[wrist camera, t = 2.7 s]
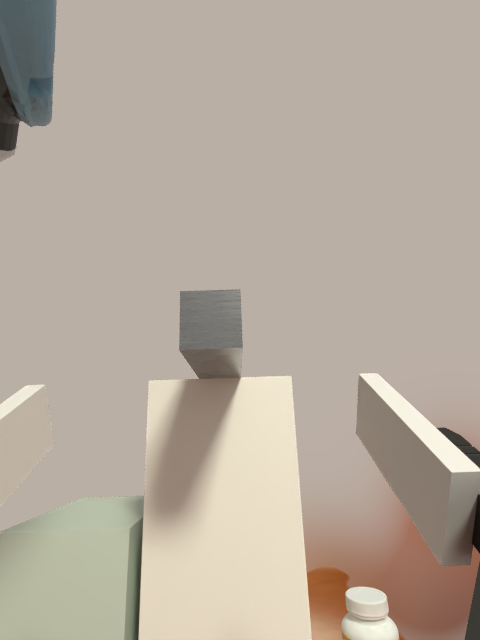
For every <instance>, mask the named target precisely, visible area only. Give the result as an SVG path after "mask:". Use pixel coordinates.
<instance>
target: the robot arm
mask: <svg viewBox="0 0 480 640" xmlns="http://www.w3.org/2000/svg"><path fill="white" fill-rule="evenodd" d="M55 26H56V0H0V162H1V161H3V160H5V159H7V158H9V157H11V156H12V155H14V153H15V148H16V142H17V135H18V127H19V122H20V121H23V122H25V123H26V124H27V125H29V126H30V127H32V126H36V125H37V126H46V125H48V124H49V123H50V122H51V117H52V94H53V63H54V52H55V28H56V27H55ZM356 428H357V429H356V434H357V435H358V437H359V438H360V440H361V442H362V443H363V445H364V446H365V448H366V449H367V451H368V452H369V454H370V456H371V457H372V459H373V460H374V462H375V463H376V465H377V467H378V468H379V470H380V471H381V473H382V474H383V476H384V477H385V479H386V481H387V482H388V484H389V485H390V486H391V488H392V490H393V492H394V493H395V495H396V496H397V498H398V499H399V501H400V503H401V504H402V506H403V507H404V509H405V510H406V512H407V513H408V515H409V517H410V518H411V520H412V521H413V523H414V524H415V526H416V528H417V529H418V531H419V532H420V534H421V535H422V537H423V538H424V540H425V542H426V543H427V545H428V546H429V548H430V549H431V551H432V553H433V554H434V556H435V557H436V559H437V560H438V562H439V563H440V565H441V566H460V565H470V564H471V557H472V549H473V545H474V547H475V548H476V549H477V550H478V552H479V553H480V452H479V451H478V450H477V449H476V448H475V447H472V445H471V444H470V443H469V442H468V441H466V440H465V439H464V438H463V437H462V436H461V435H459V434H457V433H455V432H453V431H451V430H449V429H447V428H435V427H434V426H433V425H432V424H431V423H430V422H429V421H428V420H427V419H426V418H425V417H423V415H421V414H420V413H419V412H418V411H417V410H416V409H415V408H414V407H413V406H412V405H411V404H410V403H408V402H407V401H406V400H405V399H404V398H403V397H402V396H401V395H400V394H399V393H398V392H397V391H396V390H395V389H393V388H392V387H391V386H390V385H389V384H388V383H387V382H386V381H385V380H384V379H383V378H382V377H380V376H379V375H378V374H377V373H371V374H359V385H358V406H357V427H356ZM53 445H54V438H53V431H52V425H51V418H50V412H49V406H48V399H47V393H46V386H45V385H27V386H25V387H24V388H22V389H21V390H20V391H18V392H17V393H15V394H14V395H13V396H11V397H10V398H8V399H7V400H5V401H4V402H3V403H1V404H0V507H1V506H2V505H3V503H4V502H5V501H6V500H7V499H8V498H9V496H10V495H11V494H12V493H13V492H14V491H15V489H16V488H17V487H18V486H19V485H20V484H21V483H22V481H23V480H24V479H25V478H26V477H27V476H28V474H29V473H30V472H31V471H32V470H33V469H34V467H35V466H36V465H37V464H38V463H39V462H40V460H41V459H42V458H43V457H44V456H45V455H46V454H47V453H48V451H49V450H50V449H51V448H52V447H53ZM465 640H480V563H479V569H478V573H477V578H476V584H475V589H474V595H473V600H472V604H471V610H470V615H469V620H468V625H467V630H466V635H465Z"/></svg>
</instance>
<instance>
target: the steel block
mask: <svg viewBox="0 0 480 640" xmlns="http://www.w3.org/2000/svg"><path fill="white" fill-rule="evenodd" d="M241 323H242V320H241V296H240V290H211V291H210V290H209V291H180V345H179V348H180V349H179V350H180V352H181V353H182V354H183V356H184V357H185V359H186V360H187V362H188V363H189V365H190V366H191V367H192V369H193V370H194V372H195V373H196V375H197V376H198V377H199V379H214V378H241V368H242V349H243V348H242V347H243V346H242V324H241Z"/></svg>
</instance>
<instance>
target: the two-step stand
mask: <svg viewBox="0 0 480 640" xmlns="http://www.w3.org/2000/svg"><path fill="white" fill-rule="evenodd" d="M148 389H149V390H148V413H147V440H146V464H145V489H144V496H125V497H99V498H82V499H79V500H77V501H74V502H72V503H69V504H67V505H64V506H63V507H60V508H57V509H55V510H52V511H50V512H47V513H45V514H42V515H40V516H38V517H35V518H33V519H30V520H28V521H25V522H23V523H20V524H18V525H16V526H13V527H11V528H9V529H6V530H3V531H1V532H0V640H312V638H311V625H310V612H309V599H308V586H307V573H306V561H305V549H304V535H303V523H302V509H301V496H300V485H299V471H298V457H297V445H296V432H295V419H294V406H293V393H292V380H291V376H271V377H242V378H214V379H185V380H158V381H157V380H156V381H149V388H148Z"/></svg>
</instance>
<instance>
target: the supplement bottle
mask: <svg viewBox="0 0 480 640" xmlns="http://www.w3.org/2000/svg"><path fill="white" fill-rule="evenodd" d="M346 607H347V610H348V612H349V613H347V614H346V615H345V616H344V618H343V620H342V639H343V640H399V634H398V630H397V627H396V625H395V623H394V622H393V621H392V620H391V619H390V618H389V617H388V616H387V615H388V611H389V608H388V603H387V597H386V595H385V594H384V593H383V592H381V591H380V590H377V589H374V588H369V587H355V588H351V589H349V590H347V591H346Z"/></svg>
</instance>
